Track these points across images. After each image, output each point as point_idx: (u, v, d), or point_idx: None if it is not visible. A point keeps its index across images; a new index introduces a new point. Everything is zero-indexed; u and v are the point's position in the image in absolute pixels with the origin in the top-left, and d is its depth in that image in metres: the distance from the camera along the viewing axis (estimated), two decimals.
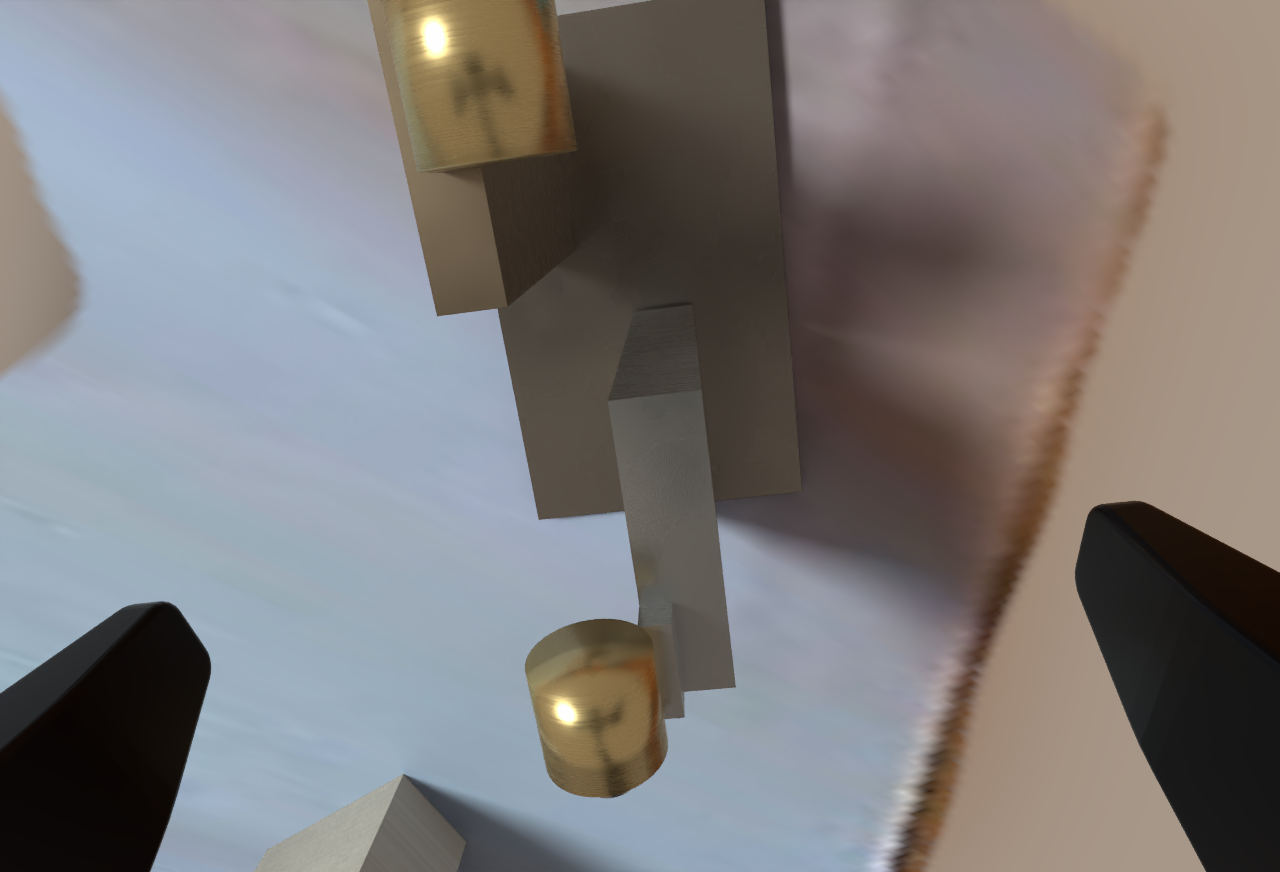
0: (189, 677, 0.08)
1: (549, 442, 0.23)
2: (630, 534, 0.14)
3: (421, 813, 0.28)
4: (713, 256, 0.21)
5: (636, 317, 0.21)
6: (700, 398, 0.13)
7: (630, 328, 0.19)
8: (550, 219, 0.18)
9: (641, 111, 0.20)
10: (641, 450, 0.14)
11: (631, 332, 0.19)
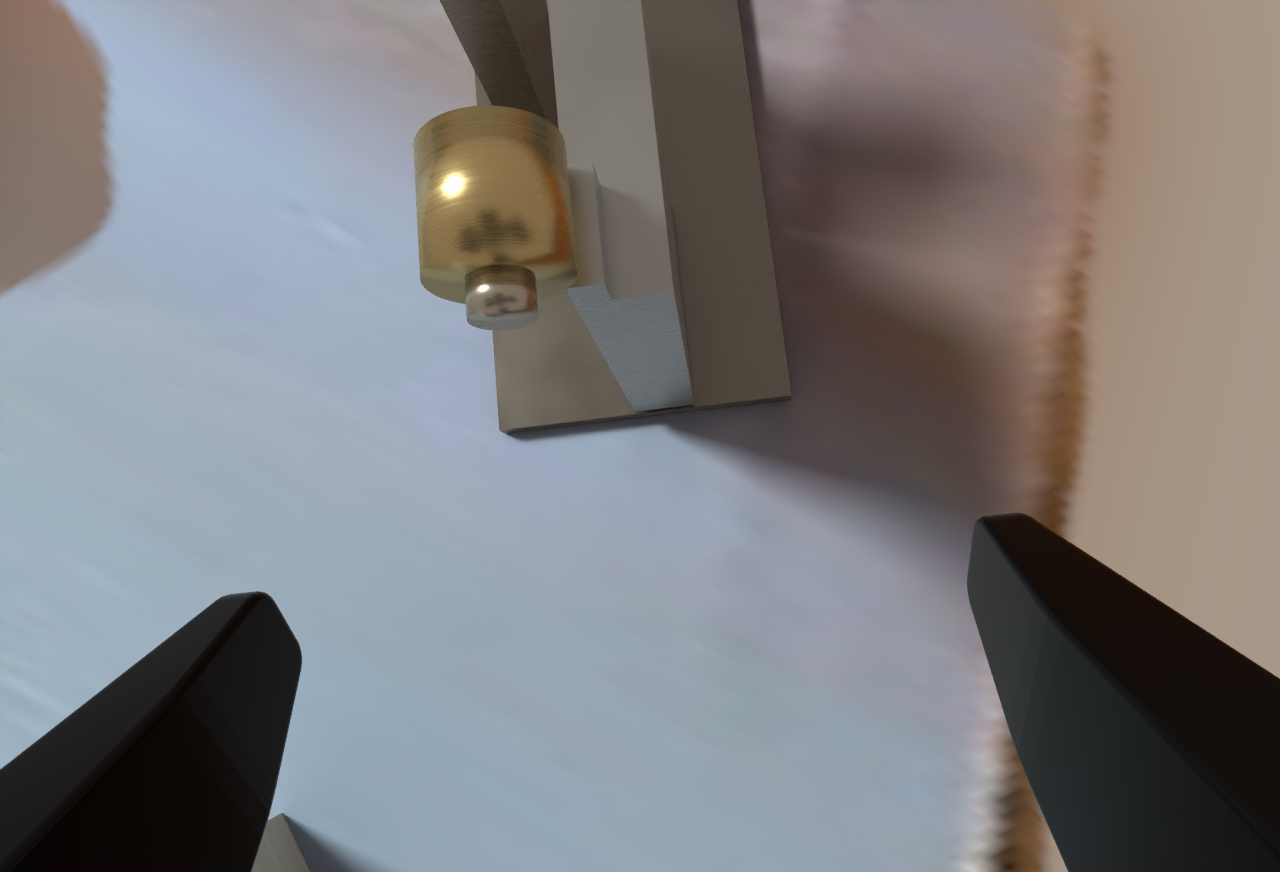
0: (284, 668, 0.08)
1: (520, 342, 0.22)
2: (559, 110, 0.13)
3: (291, 869, 0.20)
4: (691, 158, 0.22)
5: None
6: None
7: None
8: (533, 56, 0.20)
9: None
10: (575, 22, 0.13)
11: None
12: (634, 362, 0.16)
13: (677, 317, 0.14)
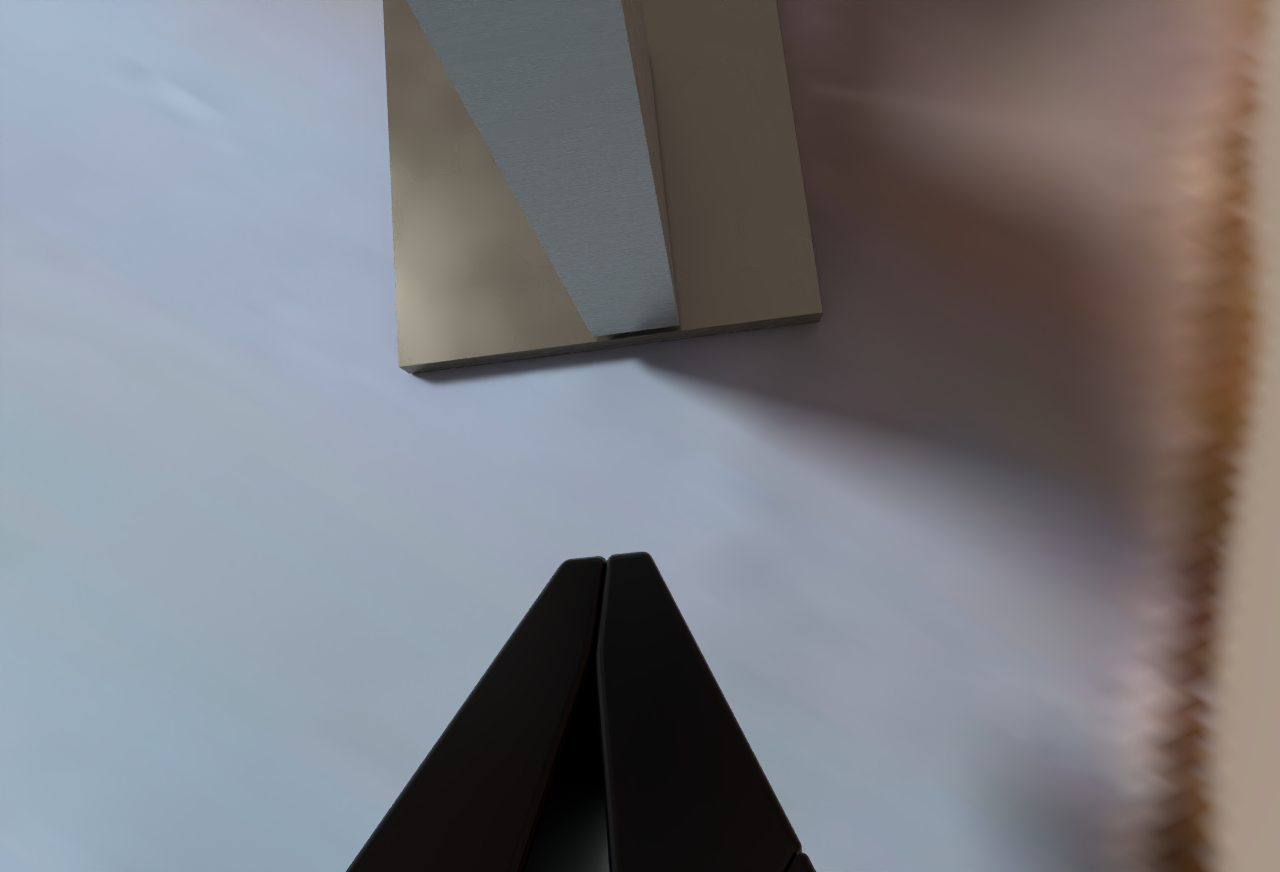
0: None
1: (431, 242, 0.15)
2: None
3: None
4: None
5: None
6: None
7: None
8: None
9: None
10: None
11: None
12: (571, 212, 0.10)
13: (632, 71, 0.07)
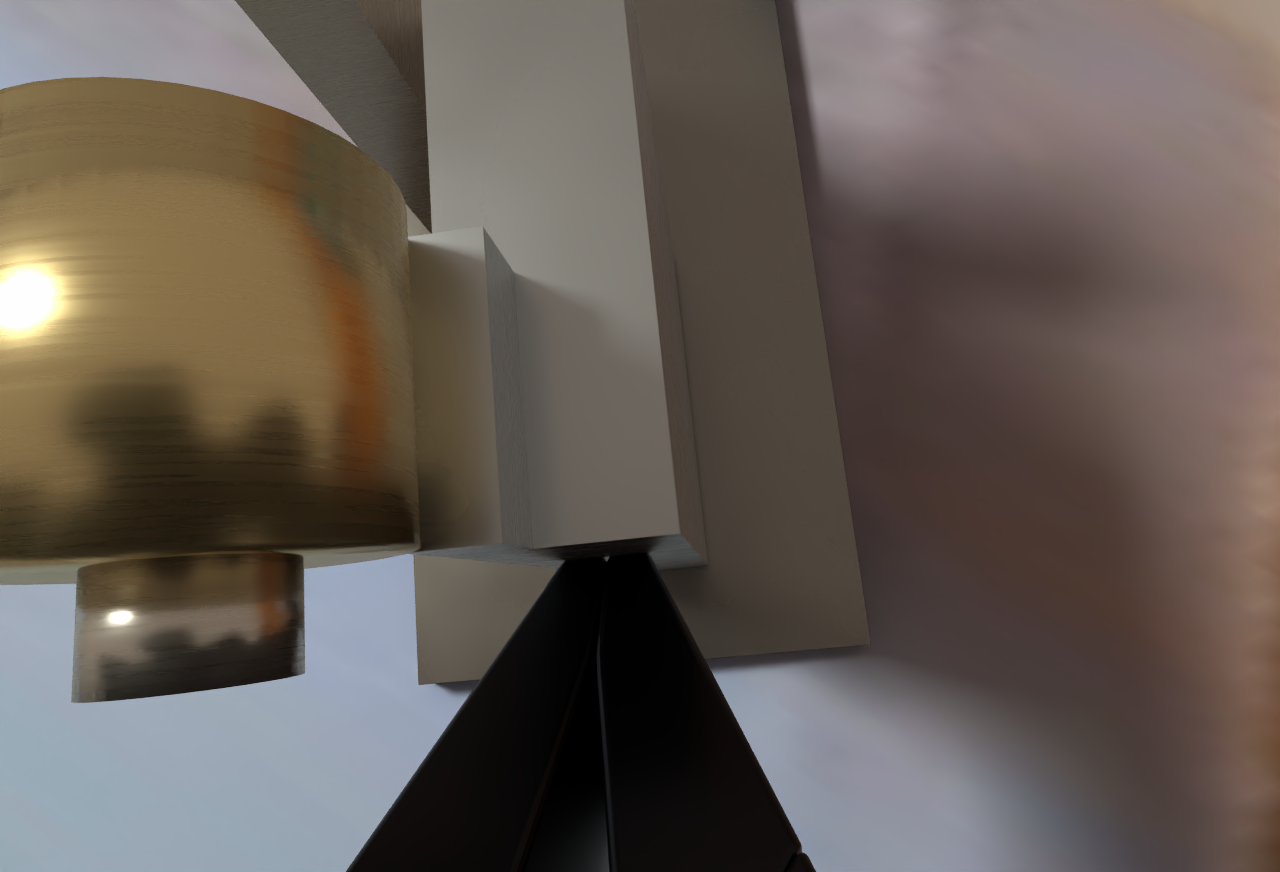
0: None
1: None
2: (431, 109, 0.06)
3: None
4: (713, 266, 0.15)
5: None
6: None
7: None
8: None
9: None
10: None
11: None
12: None
13: None
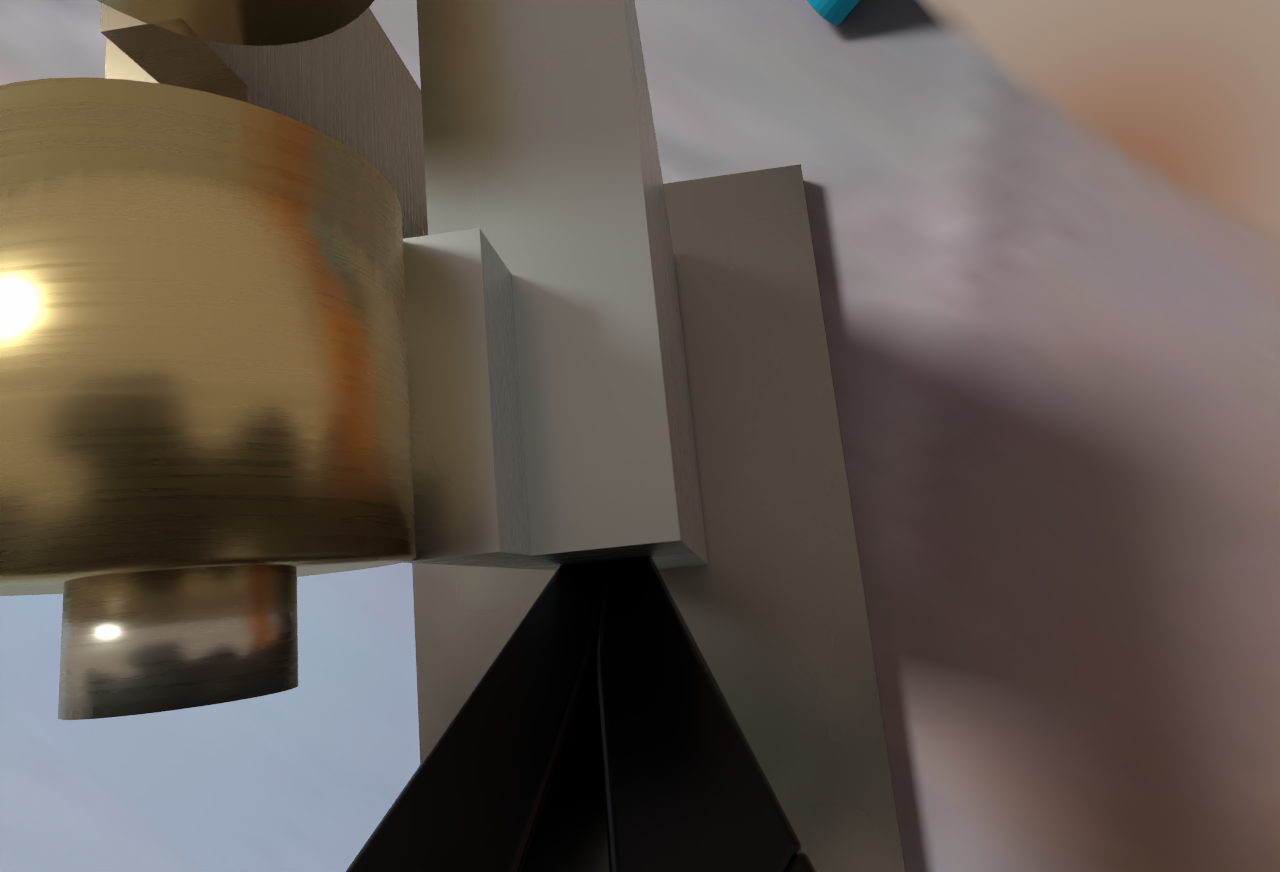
0: None
1: None
2: (427, 107, 0.06)
3: None
4: (742, 502, 0.14)
5: None
6: None
7: None
8: None
9: None
10: None
11: None
12: None
13: (687, 547, 0.06)
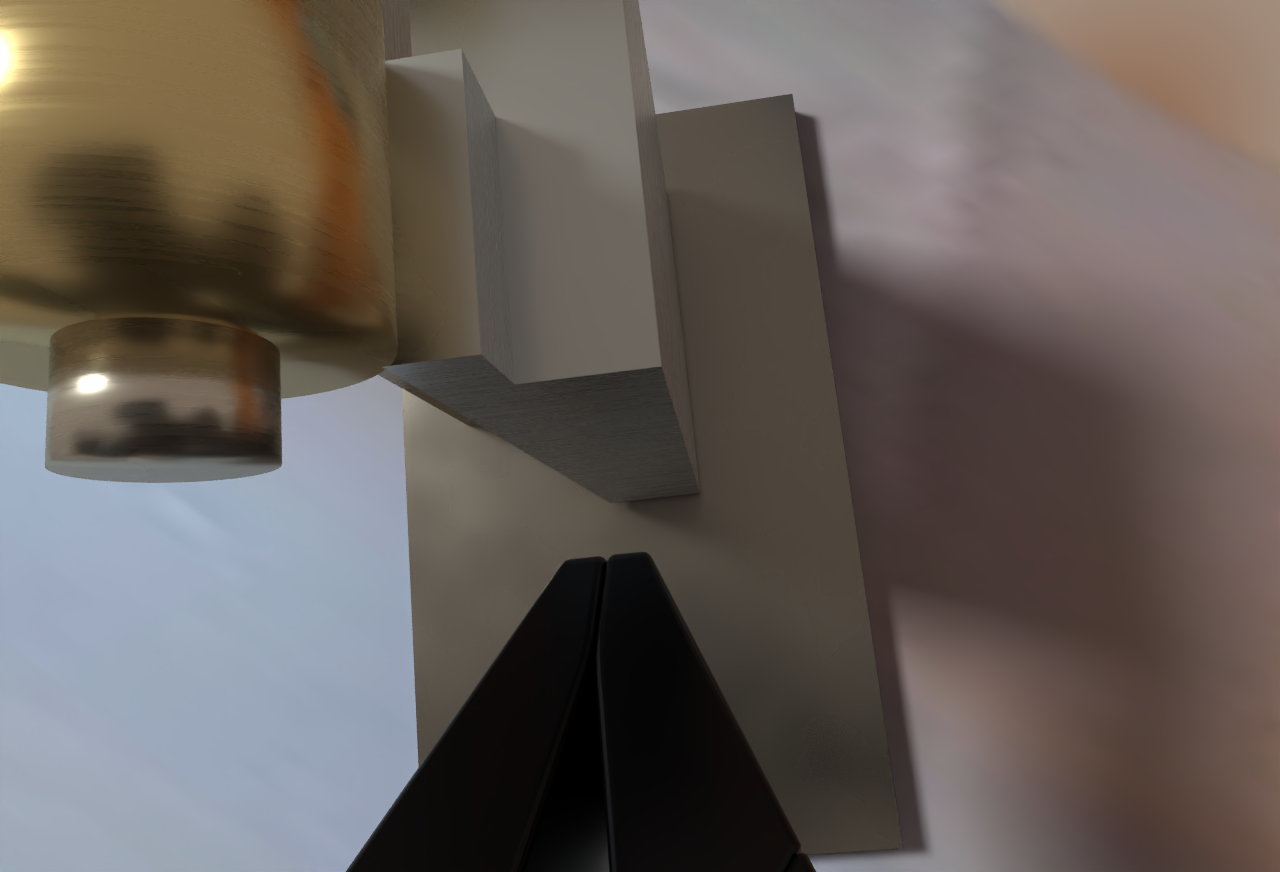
0: None
1: None
2: None
3: None
4: (733, 426, 0.14)
5: None
6: None
7: None
8: None
9: None
10: None
11: None
12: (597, 462, 0.09)
13: (672, 405, 0.06)
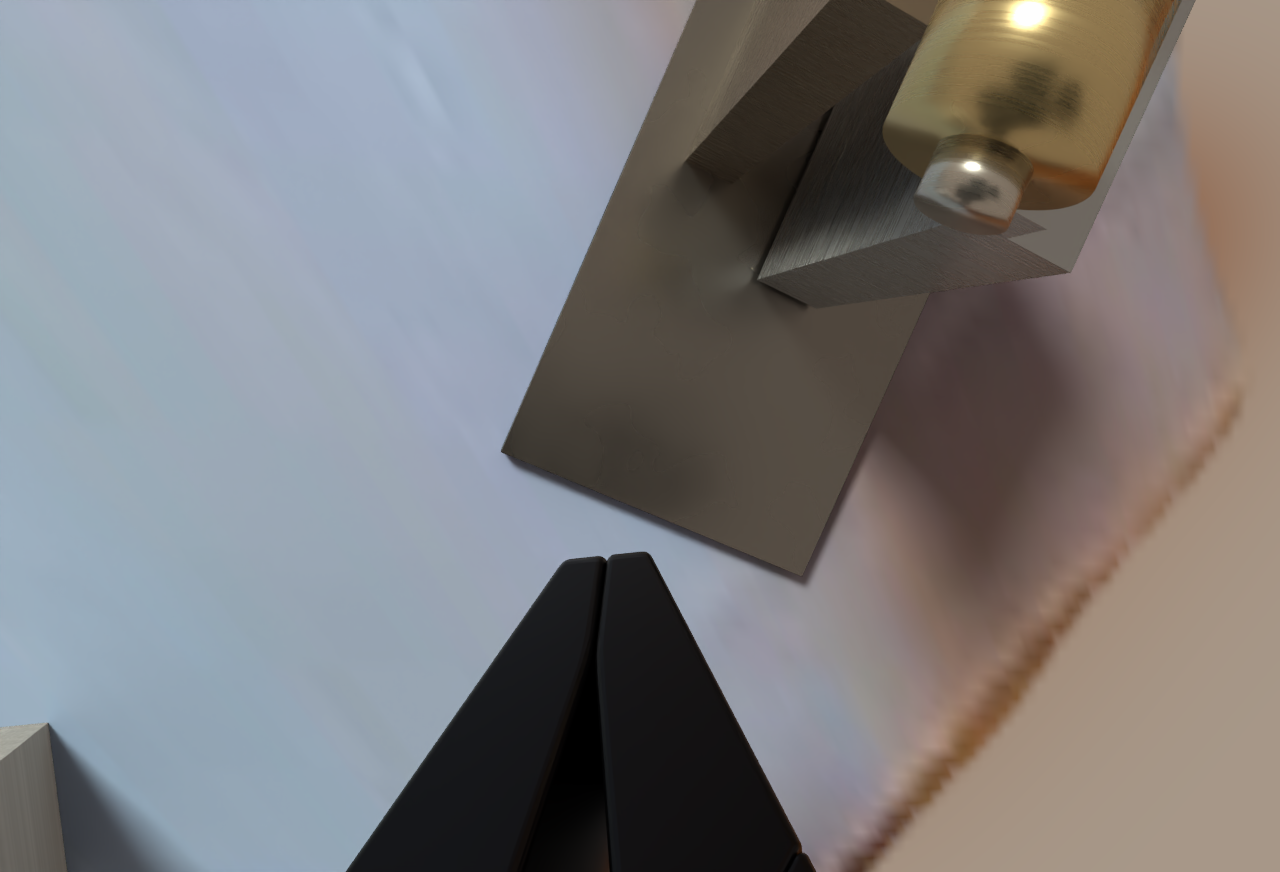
0: None
1: (574, 368, 0.18)
2: None
3: (38, 796, 0.17)
4: None
5: None
6: None
7: None
8: None
9: None
10: None
11: None
12: (869, 268, 0.14)
13: (1007, 280, 0.11)
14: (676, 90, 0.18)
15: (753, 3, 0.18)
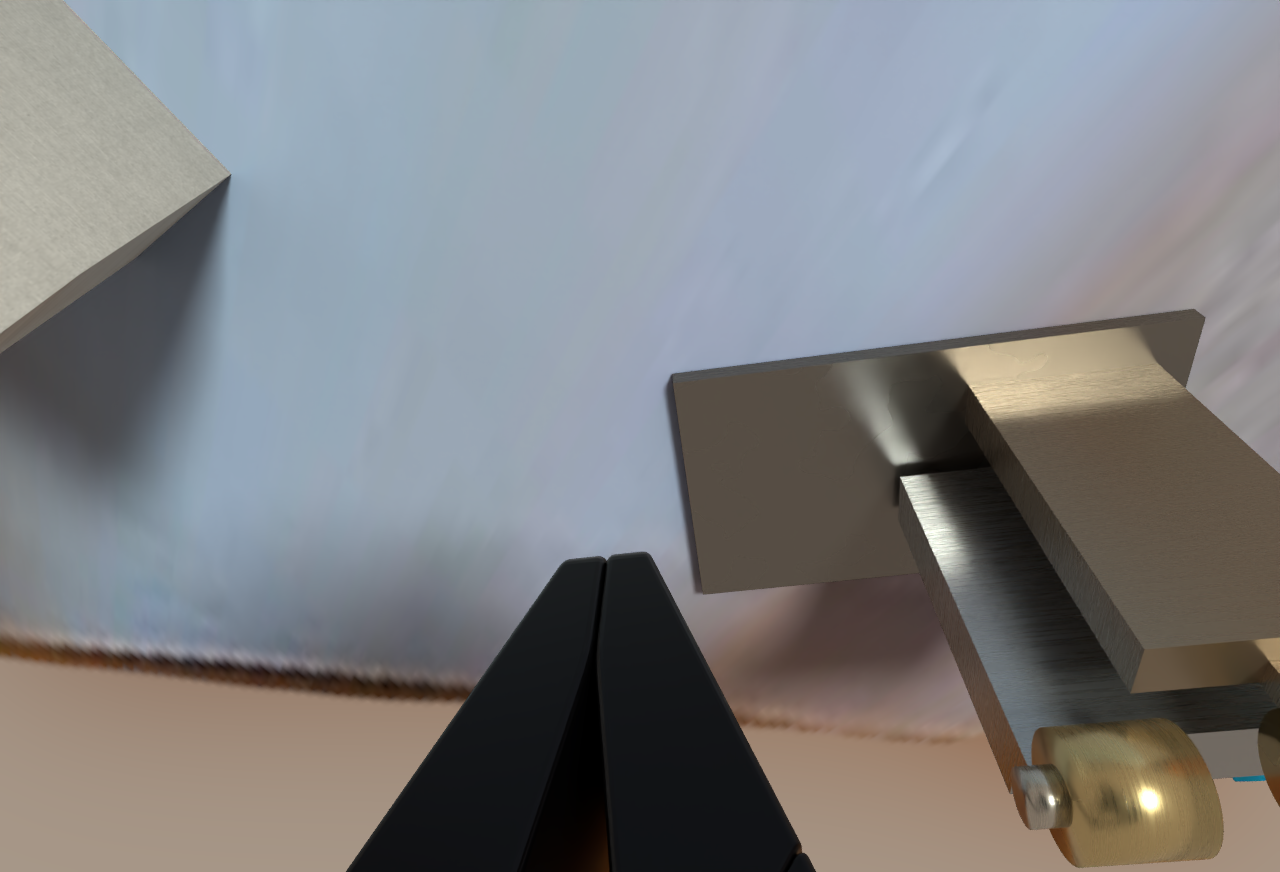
0: None
1: (766, 396, 0.21)
2: (1205, 732, 0.15)
3: (180, 215, 0.18)
4: None
5: None
6: None
7: None
8: None
9: None
10: None
11: None
12: (953, 619, 0.19)
13: (987, 737, 0.17)
14: (1023, 352, 0.20)
15: (1119, 367, 0.21)
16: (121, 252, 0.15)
